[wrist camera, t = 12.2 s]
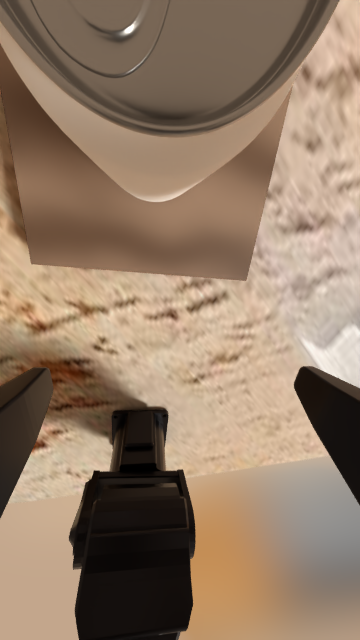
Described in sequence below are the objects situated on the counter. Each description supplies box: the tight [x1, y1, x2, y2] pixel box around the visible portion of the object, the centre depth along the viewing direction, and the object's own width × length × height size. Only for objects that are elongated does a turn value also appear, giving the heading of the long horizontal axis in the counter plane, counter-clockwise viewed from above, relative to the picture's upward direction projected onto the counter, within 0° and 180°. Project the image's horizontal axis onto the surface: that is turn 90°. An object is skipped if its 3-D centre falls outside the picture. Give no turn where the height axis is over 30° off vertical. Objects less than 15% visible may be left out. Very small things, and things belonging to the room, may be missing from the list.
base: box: [0, 44, 292, 281], centre depth 14 cm, size 16×16×2 cm
